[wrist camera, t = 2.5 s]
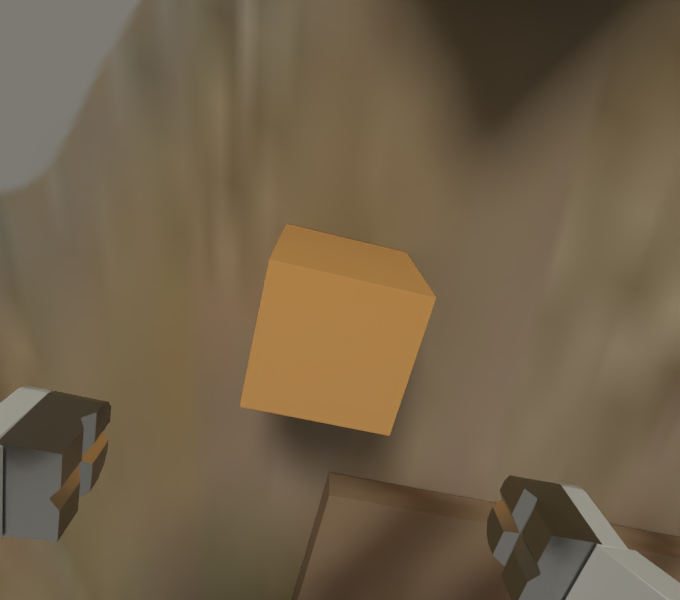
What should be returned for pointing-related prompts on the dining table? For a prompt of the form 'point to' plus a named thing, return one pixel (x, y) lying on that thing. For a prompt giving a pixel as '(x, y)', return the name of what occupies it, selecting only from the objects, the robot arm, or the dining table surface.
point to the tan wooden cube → (336, 331)
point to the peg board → (419, 546)
